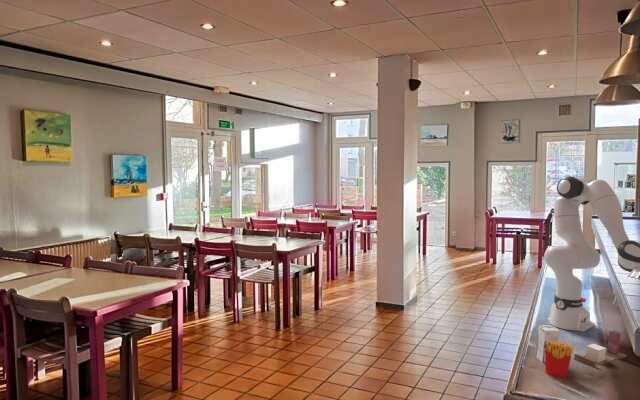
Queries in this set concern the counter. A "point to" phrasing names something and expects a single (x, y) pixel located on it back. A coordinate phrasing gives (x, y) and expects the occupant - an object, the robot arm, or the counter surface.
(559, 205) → the robot arm
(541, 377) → the counter surface
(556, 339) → the syrup box
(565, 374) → the french fries
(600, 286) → the counter surface
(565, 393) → the counter surface
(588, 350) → the cream cube
